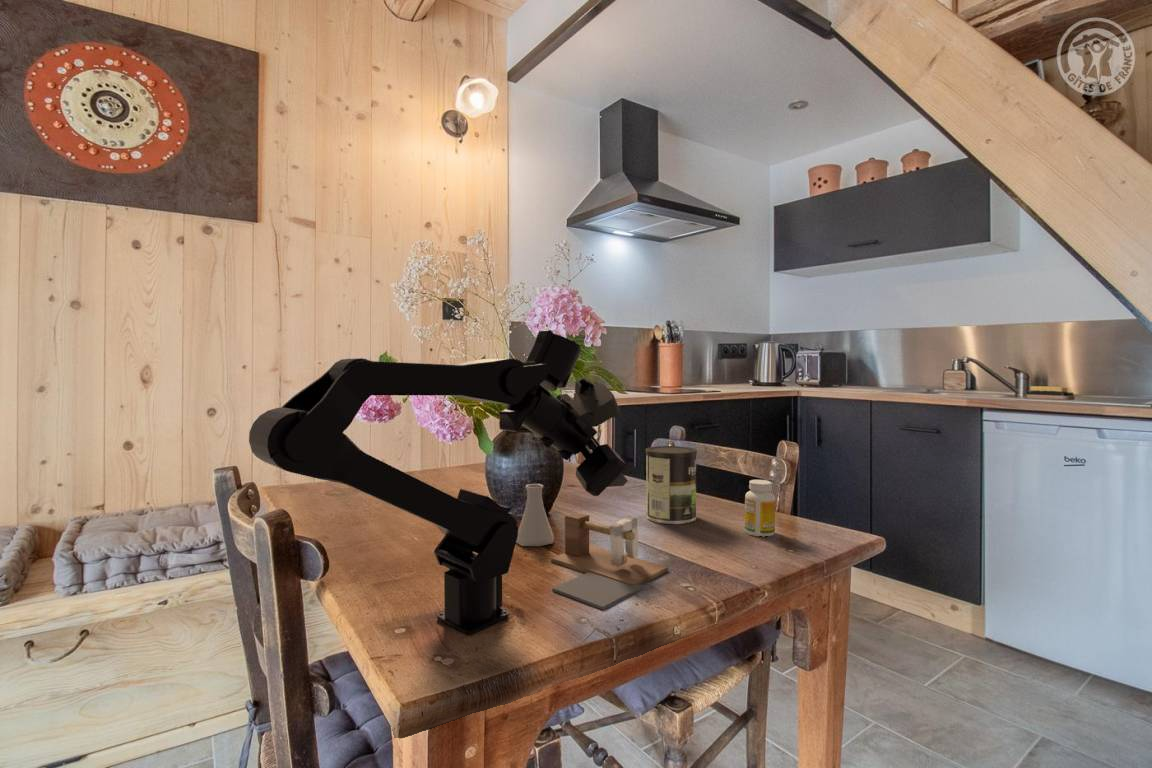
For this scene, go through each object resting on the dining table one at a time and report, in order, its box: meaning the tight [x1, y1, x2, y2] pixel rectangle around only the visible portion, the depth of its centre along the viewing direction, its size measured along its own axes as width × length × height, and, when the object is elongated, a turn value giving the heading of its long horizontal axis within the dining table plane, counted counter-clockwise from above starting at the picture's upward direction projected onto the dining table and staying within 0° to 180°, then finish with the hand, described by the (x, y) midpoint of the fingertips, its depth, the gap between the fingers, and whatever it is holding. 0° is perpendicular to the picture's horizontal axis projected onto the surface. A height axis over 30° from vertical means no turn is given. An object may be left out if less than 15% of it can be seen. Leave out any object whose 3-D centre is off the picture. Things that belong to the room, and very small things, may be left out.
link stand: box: [550, 511, 669, 586], centre depth 86 cm, size 9×16×7 cm, turn 48°
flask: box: [516, 483, 555, 547], centre depth 98 cm, size 7×7×10 cm
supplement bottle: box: [744, 479, 776, 538], centre depth 103 cm, size 5×5×10 cm
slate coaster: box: [551, 572, 644, 611], centre depth 77 cm, size 9×9×1 cm
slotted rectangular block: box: [609, 515, 639, 567], centre depth 84 cm, size 5×1×6 cm, turn 138°
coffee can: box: [645, 445, 698, 525], centre depth 113 cm, size 10×10×14 cm
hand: (611, 464), depth 86 cm, fingers open, 9 cm apart
